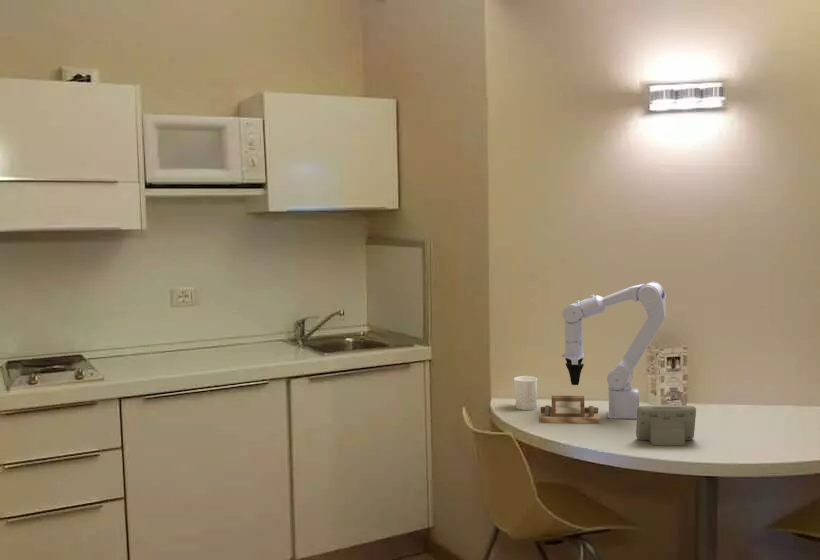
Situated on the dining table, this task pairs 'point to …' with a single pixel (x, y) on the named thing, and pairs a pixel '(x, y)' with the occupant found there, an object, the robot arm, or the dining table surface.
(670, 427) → the digital clock
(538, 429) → the dining table surface
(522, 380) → the white cup
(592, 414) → the wooden stand base
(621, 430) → the dining table surface
